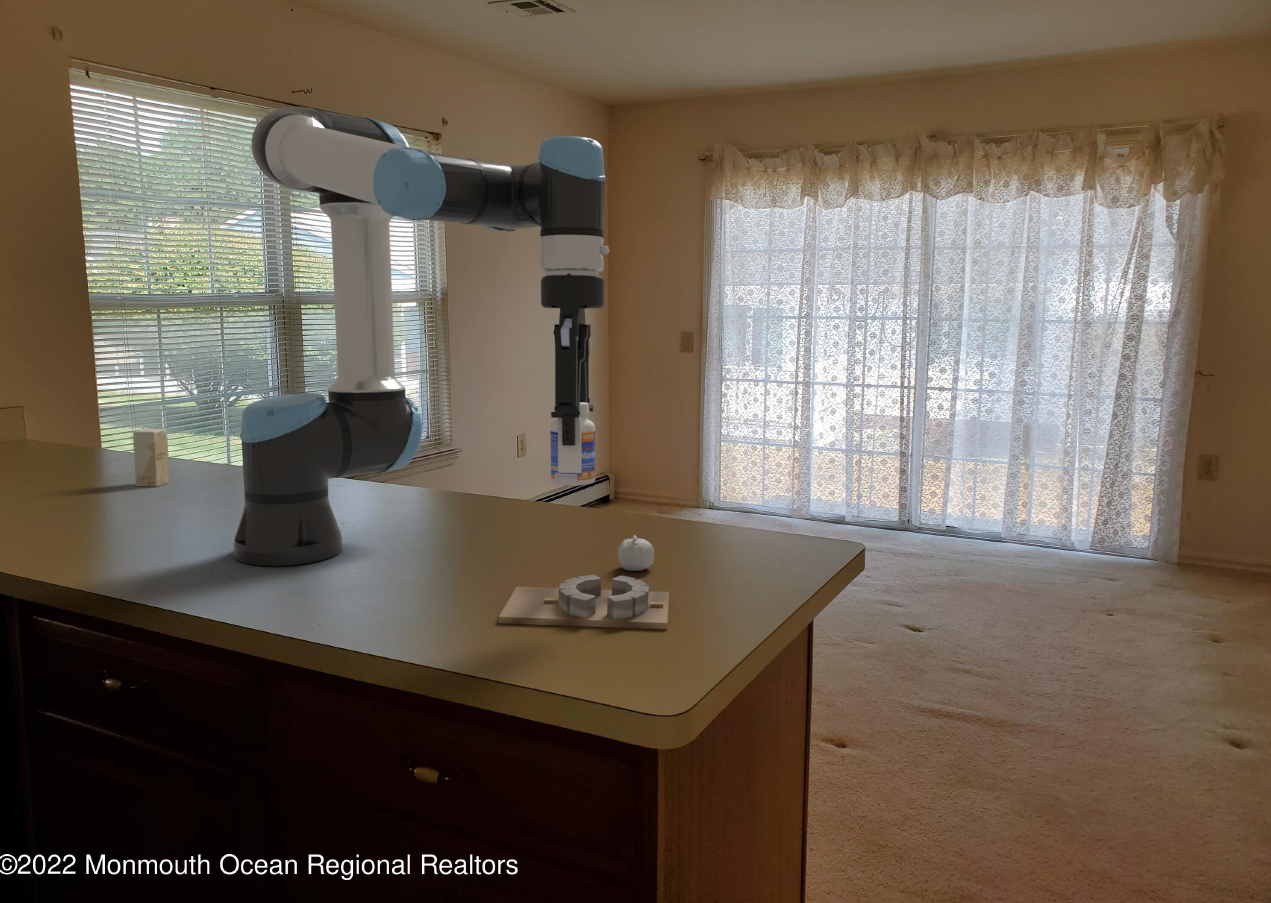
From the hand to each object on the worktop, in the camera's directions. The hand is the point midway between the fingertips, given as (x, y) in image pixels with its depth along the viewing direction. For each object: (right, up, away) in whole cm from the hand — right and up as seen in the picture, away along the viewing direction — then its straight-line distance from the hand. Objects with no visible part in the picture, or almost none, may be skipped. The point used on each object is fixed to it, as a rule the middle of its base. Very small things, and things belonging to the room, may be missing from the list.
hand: (573, 467), depth 112 cm
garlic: (+8, -15, +21) cm, 27 cm away
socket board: (+2, -18, +2) cm, 18 cm away
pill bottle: (0, -2, 0) cm, 2 cm away
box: (-90, -5, +74) cm, 117 cm away
